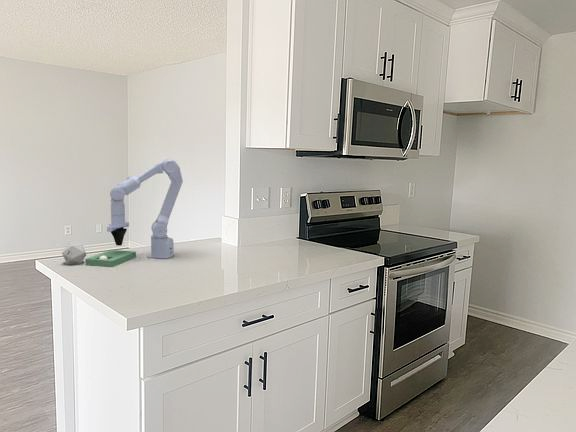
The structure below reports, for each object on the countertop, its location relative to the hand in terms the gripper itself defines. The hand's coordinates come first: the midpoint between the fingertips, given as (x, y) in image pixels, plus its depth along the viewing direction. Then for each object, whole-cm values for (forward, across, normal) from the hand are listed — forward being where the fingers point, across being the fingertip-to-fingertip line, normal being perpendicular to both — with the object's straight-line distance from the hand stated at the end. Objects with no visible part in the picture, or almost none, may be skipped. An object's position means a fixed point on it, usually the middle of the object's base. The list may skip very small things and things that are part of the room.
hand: (119, 245), depth 199 cm
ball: (+4, +12, 0) cm, 13 cm away
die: (+6, +13, -12) cm, 19 cm away
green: (+6, +6, 0) cm, 8 cm away
